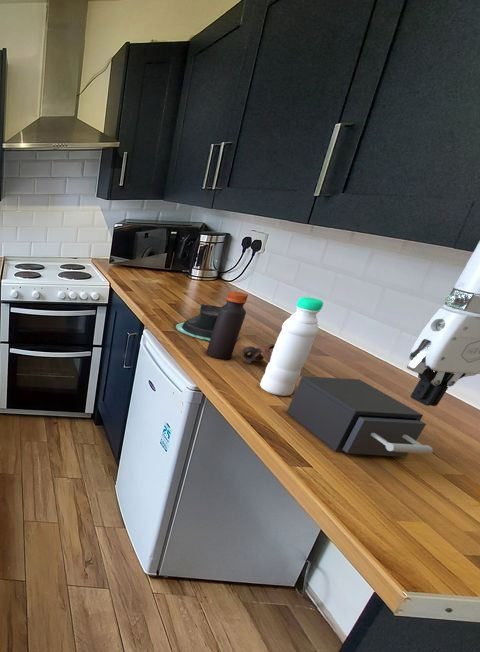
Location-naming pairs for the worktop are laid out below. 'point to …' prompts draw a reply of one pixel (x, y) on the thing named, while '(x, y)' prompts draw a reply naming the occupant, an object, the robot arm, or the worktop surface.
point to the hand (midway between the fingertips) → (422, 401)
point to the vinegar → (227, 326)
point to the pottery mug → (257, 353)
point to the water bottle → (292, 348)
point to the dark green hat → (201, 323)
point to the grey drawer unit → (341, 407)
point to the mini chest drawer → (385, 436)
